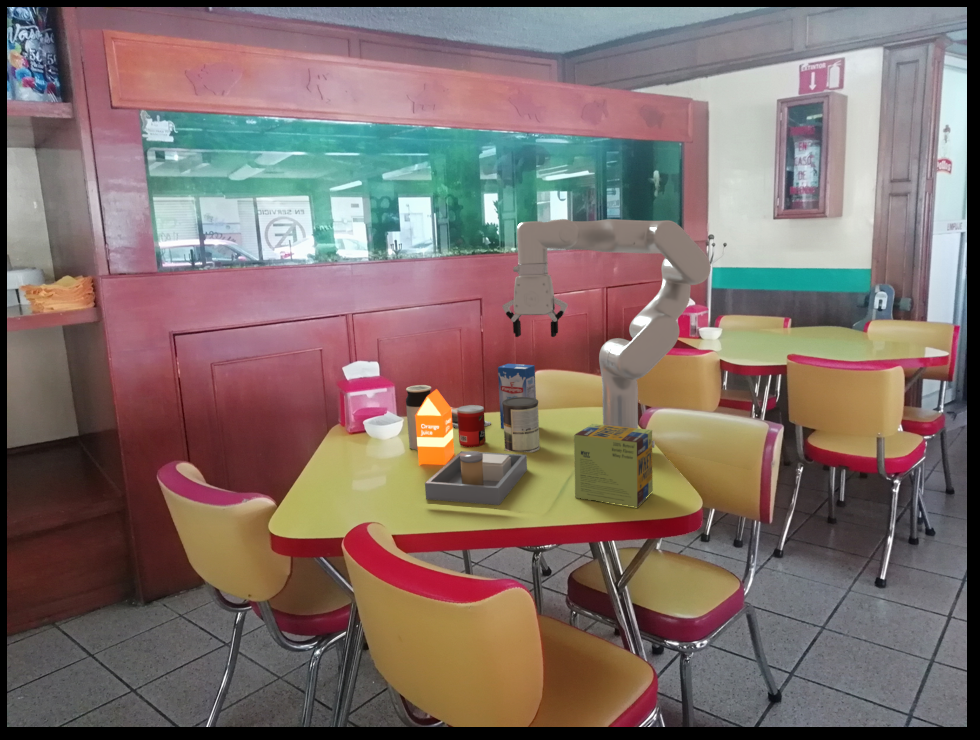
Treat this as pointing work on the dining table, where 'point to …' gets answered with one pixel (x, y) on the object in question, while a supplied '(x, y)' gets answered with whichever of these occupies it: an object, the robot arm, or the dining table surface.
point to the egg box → (495, 466)
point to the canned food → (471, 426)
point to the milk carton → (515, 383)
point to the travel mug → (415, 409)
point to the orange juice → (434, 430)
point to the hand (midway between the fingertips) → (535, 336)
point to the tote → (492, 492)
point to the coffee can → (521, 424)
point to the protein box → (613, 464)
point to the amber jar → (472, 468)
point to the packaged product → (455, 418)
